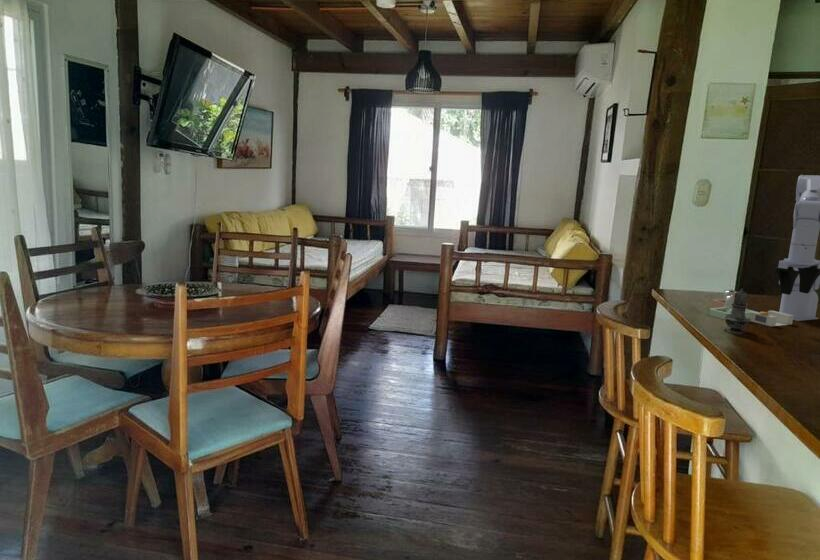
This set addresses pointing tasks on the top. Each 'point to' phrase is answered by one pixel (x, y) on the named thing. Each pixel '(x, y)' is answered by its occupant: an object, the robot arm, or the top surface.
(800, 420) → the top surface
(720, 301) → the cup
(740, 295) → the grey chess piece
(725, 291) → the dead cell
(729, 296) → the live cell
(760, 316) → the cradle
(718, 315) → the trough
